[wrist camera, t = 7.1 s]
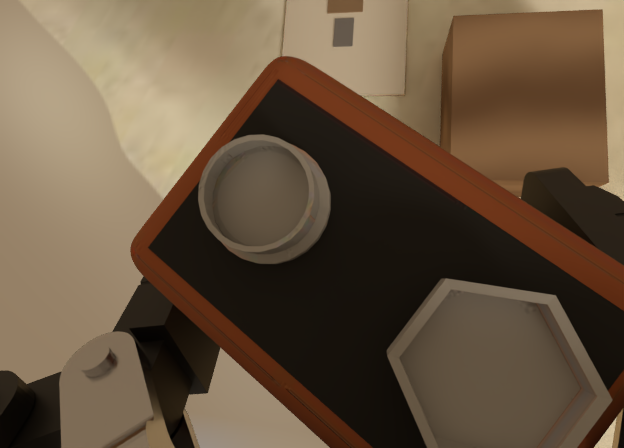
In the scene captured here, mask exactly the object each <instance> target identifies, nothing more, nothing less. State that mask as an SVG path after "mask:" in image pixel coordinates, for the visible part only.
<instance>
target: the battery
mask: <svg viewBox="0 0 624 448" xmlns="http://www.w3.org/2000/svg"><path fill="white" fill-rule="evenodd" d="M131 257H132V260H133V262H134V264H135V266H136V267H137V269H138V270H139V271H140V272H141V273H142V275H143V276H144V277H145V278H146V279H147V280H148V281H149V282H150V283H151V284H152V285H153V286H154V287H155V288H157V289H158V290H159V291H160V292H161V293H162V294H163V295H164V296H165V297H166V298H167V299H168V300H169V301H170V302H172V303H173V304H174V305H175V306H176V307H177V308H178V309H179V310H180V311H181V312H182V313H184V314H185V315H186V316H187V317H188V318H189V319H190V320H191V321H192V322H193V323H194V324H196V325H197V326H198V327H199V328H200V329H201V330H202V331H203V332H204V333H205V334H206V335H208V336H209V337H210V338H211V339H212V340H213V341H214V342H215V343H216V344H217V345H219V346H220V347H221V348H222V349H223V350H224V351H225V352H226V353H227V354H228V355H229V356H231V357H232V358H233V359H234V360H235V361H236V362H237V363H238V364H239V365H240V366H242V367H243V368H244V369H245V370H246V371H247V372H248V373H249V374H250V375H251V376H252V377H253V378H255V379H256V380H257V381H258V382H259V383H260V384H261V385H262V386H263V387H264V388H266V389H267V390H268V391H269V392H270V393H271V394H272V395H273V396H274V397H275V398H276V399H277V400H279V401H280V402H281V403H282V404H283V405H284V406H285V407H286V408H287V409H288V410H289V411H291V412H292V413H293V414H294V415H295V416H296V417H297V418H298V419H299V420H300V421H302V422H303V423H304V424H305V425H306V426H307V427H308V428H309V429H310V430H311V431H312V432H314V433H315V434H316V435H317V436H318V437H319V438H320V439H321V440H322V441H324V443H326V444H327V445H328V446H329V447H330V448H594V447H595V445H596V444H597V443H598V441H599V440H600V438H601V437H602V436H603V434H604V433H605V432H606V430H607V429H608V428H609V426H610V425H611V424H612V422H613V421H614V420H615V418H616V417H617V416H618V414H619V413H620V412H621V410H622V409H623V408H624V265H622V264H621V263H619V262H618V261H616V260H615V259H613V258H612V257H610V256H608V255H607V254H605V253H604V252H602V251H601V250H599V249H598V248H596V247H595V246H593V245H591V244H590V243H588V242H587V241H585V240H584V239H582V238H581V237H579V236H577V235H576V234H574V233H573V232H571V231H570V230H568V229H567V228H565V227H563V226H562V225H560V224H559V223H557V222H556V221H554V220H553V219H551V218H550V217H548V216H546V215H545V214H543V213H542V212H540V211H539V210H537V209H536V208H534V207H532V206H531V205H529V204H528V203H526V202H525V201H523V200H522V199H520V198H518V197H517V196H515V195H514V194H512V193H511V192H509V191H508V190H506V189H505V188H503V187H501V186H500V185H498V184H497V183H495V182H494V181H492V180H491V179H489V178H487V177H486V176H484V175H483V174H481V173H480V172H478V171H477V170H475V169H474V168H472V167H470V166H469V165H467V164H466V163H464V162H463V161H461V160H460V159H458V158H456V157H455V156H453V155H452V154H450V153H449V152H447V151H446V150H444V149H442V148H441V147H439V146H438V145H436V144H435V143H433V142H432V141H430V140H429V139H427V138H425V137H424V136H422V135H421V134H419V133H418V132H416V131H415V130H413V129H411V128H410V127H408V126H407V125H405V124H404V123H402V122H401V121H399V120H397V119H396V118H394V117H393V116H391V115H390V114H388V113H387V112H385V111H384V110H382V109H380V108H379V107H377V106H376V105H374V104H373V103H371V102H370V101H368V100H366V99H365V98H363V97H362V96H360V95H359V94H357V93H356V92H354V91H352V90H351V89H349V88H348V87H346V86H345V85H343V84H342V83H340V82H339V81H337V80H335V79H334V78H332V77H331V76H329V75H327V74H326V73H324V72H323V71H321V70H320V69H318V68H316V67H315V66H313V65H311V64H309V63H308V62H306V61H304V60H301V59H299V58H296V57H291V56H282V57H279V58H276V59H275V60H273V61H272V62H271V63H270V64H269V65H268V66H267V67H266V68H265V69H264V71H263V72H262V73H261V74H260V76H259V77H258V78H257V79H256V81H255V82H254V83H253V85H252V86H251V87H250V88H249V90H248V91H247V92H246V94H245V95H244V96H243V98H242V99H241V100H240V101H239V103H238V104H237V105H236V107H235V108H234V109H233V110H232V112H231V113H230V114H229V116H228V117H227V118H226V120H225V121H224V122H223V123H222V125H221V126H220V127H219V129H218V130H217V131H216V132H215V134H214V135H213V136H212V138H211V139H210V140H209V141H208V143H207V144H206V145H205V147H204V148H203V149H202V151H201V152H200V153H199V154H198V156H197V157H196V158H195V160H194V161H193V162H192V163H191V165H190V166H189V167H188V169H187V170H186V171H185V172H184V174H183V175H182V176H181V178H180V179H179V180H178V182H177V183H176V184H175V185H174V187H173V188H172V189H171V191H170V192H169V193H168V194H167V196H166V197H165V198H164V200H163V201H162V202H161V204H160V205H159V206H158V207H157V209H156V210H155V211H154V213H153V214H152V215H151V217H150V218H149V219H148V220H147V222H146V223H145V224H144V226H143V227H142V228H141V230H140V231H139V232H138V234H137V235H136V237H135V238H134V240H133V242H132V244H131Z"/></svg>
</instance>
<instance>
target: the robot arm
mask: <svg viewBox="0 0 624 448" xmlns="http://www.w3.org/2000/svg"><path fill="white" fill-rule="evenodd" d="M521 199H522V200H523V201H525V202H526V203H528V204H529V205H531V206H532V207H534V208H536V209H537V210H539V211H540V212H542V213H543V214H545V215H546V216H548V217H550V218H551V219H553V220H554V221H556V222H557V223H559V224H560V225H562V226H563V227H565V228H567V229H568V230H570V231H571V232H573V233H574V234H576V235H577V236H579V237H581V238H582V239H584V240H585V241H587V242H588V243H590V244H591V245H593V246H595V247H596V248H598V249H599V250H601V251H602V252H604V253H605V254H607V255H608V256H610V257H612V258H613V259H615V260H616V261H618V262H619V263H621V264H622V265H624V201H623V200H621V199H620V198H619V197H618V196H616V195H614V194H612V193H610V192H607V191H605V190H603V189H601V188H599V187H597V186H594V185H592V186H585V185H584V184H583V183H582V182H581V181H580V180H579V179H578V178H577V177H576V176H575V175H574V174H573V173H572V172H571V171H570V170H569V169H568V168H566V167H561V168H553V169H546V170H539V171H532V172H528V173H527V174H526V175H525V177H524V181H523V187H522V194H521ZM219 350H220V346H219V345H217V344H216V343H215V342H214V341H213V340H212V339H211V338H210V337H209V336H208V335H206V334H205V333H204V332H203V331H202V330H201V329H200V328H199V327H198V326H197V325H196V324H194V323H193V322H192V321H191V320H190V319H189V318H188V317H187V316H186V315H185V314H184V313H182V312H181V311H180V310H179V309H178V308H177V307H176V306H175V305H174V304H173V303H172V302H170V301H169V300H168V299H167V298H166V297H165V296H164V295H163V294H162V293H161V292H160V291H159V290H158V289H157V288H155V287H154V286H153V285H152V284H151V283H150V282H149V281H148V280H147V279H146V278H145V277H143V278H142V280H141V285H139V286H138V287H137V289H136V291H135V293H134V294H133V296H132V298H131V300H130V302H129V303H128V305H127V307H126V309H125V310H124V312H123V314H122V316H121V318H120V319H119V321H118V323H117V324H116V326H115V328H114V330H113V332H110V333H106V334H103V335H101V336H98V337H96V338H94V339H93V340H91V341H89V342H88V343H86V344H85V345H83V346H82V347H81V348H80V349H79V350H78V351H76V352H75V353H74V354H73V355H72V357H71V358H70V359H69V360H68V362H67V363H66V365H65V366H64V368H63V370H62V372H59V373H56V374H53V375H51V376H48V377H45V378H43V379H40V380H37V381H34V382H32V383H29V384H26V383H24V381H22V380H21V379H20V378H19V377H18V376H17V375H16V374H14V373H13V372H11V371H0V448H200V447H199V444H198V441H197V438H196V435H195V432H194V429H193V426H192V424H191V421H190V418H189V415H188V413H187V411H186V410H185V405H186V402H187V398H188V395H189V394H203V393H208V390H209V386H210V383H211V379H212V376H213V372H214V368H215V365H216V361H217V358H218V354H219ZM612 448H624V408H623V409H622V410H621V412H620V413H619V414H618V416H617V419H616V425H615V432H614V438H613V445H612Z"/></svg>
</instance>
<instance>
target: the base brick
mask: <svg viewBox="0 0 624 448" xmlns="http://www.w3.org/2000/svg"><path fill="white" fill-rule="evenodd" d="M440 147H441V148H442V149H444V150H446V151H447V152H449V153H450V154H452V155H453V156H455V157H456V158H458V159H460V160H461V161H463V162H464V163H466V164H467V165H469V166H470V167H472V168H474V169H475V170H477V171H478V172H480V173H481V174H483V175H484V176H486V177H487V178H489V179H491V180H492V181H494V182H495V183H497V184H498V185H500V186H501V187H503V188H505V189H506V190H508V191H509V192H511V193H512V194H514V195H515V196H517V197H521V194H522V187H523V181H524V177H525V175H526V174H527V173H528V172H532V171H539V170H546V169H553V168H561V167H566V168H568V169H569V170H570V171H571V172H572V173H573V174H574V175H575V176H576V177H577V178H578V179H579V180H580V181H581V182H582V183H583V184H584V185H585V186H592V185H594V186H597V187H599V186H602V185H604V184H606V183H609V176H608V148H607V121H606V93H605V66H604V38H603V11H602V10H579V11H557V12H534V13H511V14H488V15H465V16H453V20H452V23H451V27H450V30H449V34H448V37H447V41H446V44H445V47H444V51H443V54H442V94H441V133H440Z"/></svg>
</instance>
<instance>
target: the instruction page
mask: <svg viewBox="0 0 624 448" xmlns="http://www.w3.org/2000/svg"><path fill="white" fill-rule="evenodd" d="M407 15H408V0H287V4H286V16H285V28H284V39H283V51H282V56H291V57H296V58H299V59H301V60H304V61H306V62H308V63H309V64H311V65H313V66H315V67H316V68H318V69H320V70H321V71H323V72H324V73H326V74H327V75H329V76H331V77H332V78H334V79H335V80H337V81H339V82H340V83H342V84H343V85H345V86H346V87H348V88H349V89H351V90H352V91H354V92H356V93H357V94H359V95H360V96H385V95H404V92H405V66H406V41H407Z"/></svg>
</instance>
